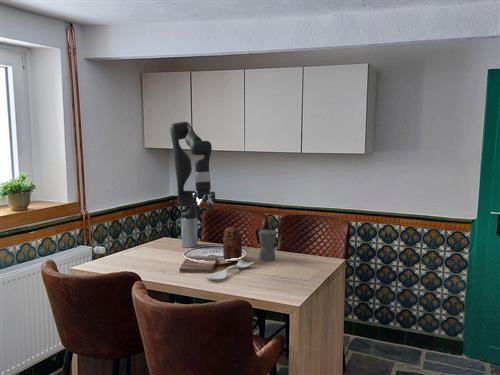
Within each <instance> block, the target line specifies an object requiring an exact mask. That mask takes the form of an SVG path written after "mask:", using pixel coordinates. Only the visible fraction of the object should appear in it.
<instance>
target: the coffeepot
mask: <svg viewBox="0 0 500 375" xmlns="http://www.w3.org/2000/svg"><path fill="white" fill-rule="evenodd" d="M269 228H270V227H269V226H265V229H260V228H257V229H256V230H255V237H256V241H257V244H259V245H260V248H259V253H258V260H259V261H261V262H274V261H275V260H276V258H277V257H276V251H275V247H274V245H275V242H276V236H278V235H277V231H275V230H272V229H269Z"/></svg>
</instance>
